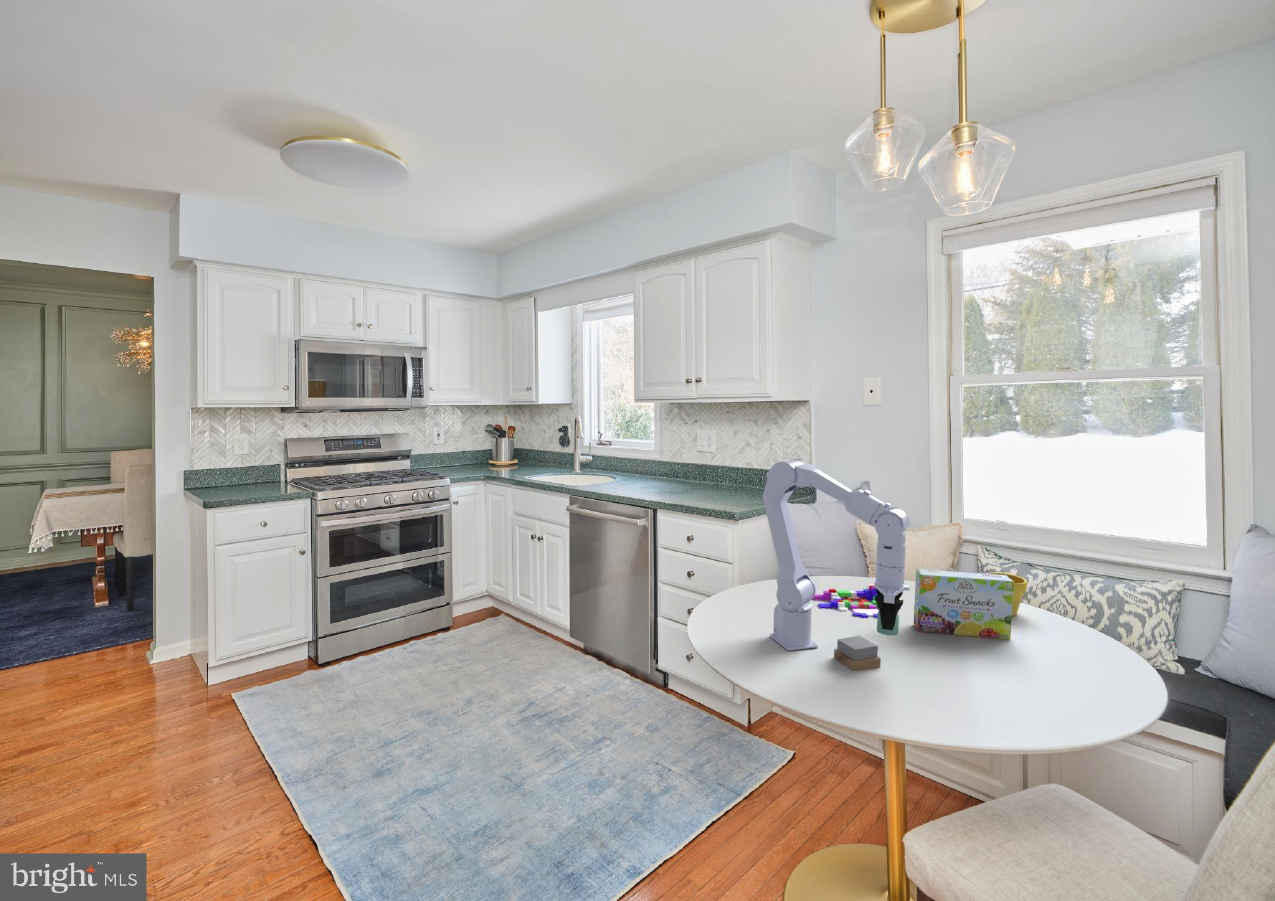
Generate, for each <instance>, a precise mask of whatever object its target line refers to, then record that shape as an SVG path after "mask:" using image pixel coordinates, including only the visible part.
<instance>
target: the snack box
mask: <svg viewBox="0 0 1275 901" xmlns="http://www.w3.org/2000/svg"><path fill="white" fill-rule="evenodd" d="M914 585H915V587H914V590H915V591H914V606H913V625H914V627H915V629H916V631H917V632H924V633H925V632H926V633H936V634H946V635H957V636H966V637H967V636H968V637H976V638H977V637H978V638H987V639H995V640H996V639H998V640H1000V639H1001V640H1006V641H1007V640H1011V637H1012V636H1011V633H1012V620H1013V619H1012V618H1013V616H1012V609H1013V595H1014V581H1013V580H1011V579H1010V578H1009V577H1008V576H1006V575H995V574H986V573H979V572H966V571H965V572H964V571H950V570H949V571H948V570H936V569H935V570H934V569H922V568H916V570H915V584H914Z"/></svg>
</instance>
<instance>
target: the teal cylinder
mask: <svg viewBox="0 0 1275 901" xmlns="http://www.w3.org/2000/svg"><path fill="white" fill-rule="evenodd" d="M899 628H900V614H899V613H898V614H897V617H896V621H895V625H894V628H893V630H886V629H882V625H881V618H880V612H879V611H878V612H877V618H876V632H877V633H879V634H880V635H884V636H898V635H899V630H900V629H899Z"/></svg>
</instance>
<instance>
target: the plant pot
mask: <svg viewBox="0 0 1275 901" xmlns="http://www.w3.org/2000/svg"><path fill="white" fill-rule="evenodd" d="M985 574H995V575H1006V576H1008V577H1009V578H1010V579H1011V580H1013V581H1014V595H1013V609H1012V617H1015V616H1016V615H1018V611H1019V609H1020V605H1021V602H1022V599H1023V596H1024V595H1025V594H1026V593H1027V589H1028V588H1027V587H1028V581H1027V579H1026V578H1024V577H1022V576H1019V575H1016V574H1011V573H1006V572H986V573H985Z"/></svg>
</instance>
